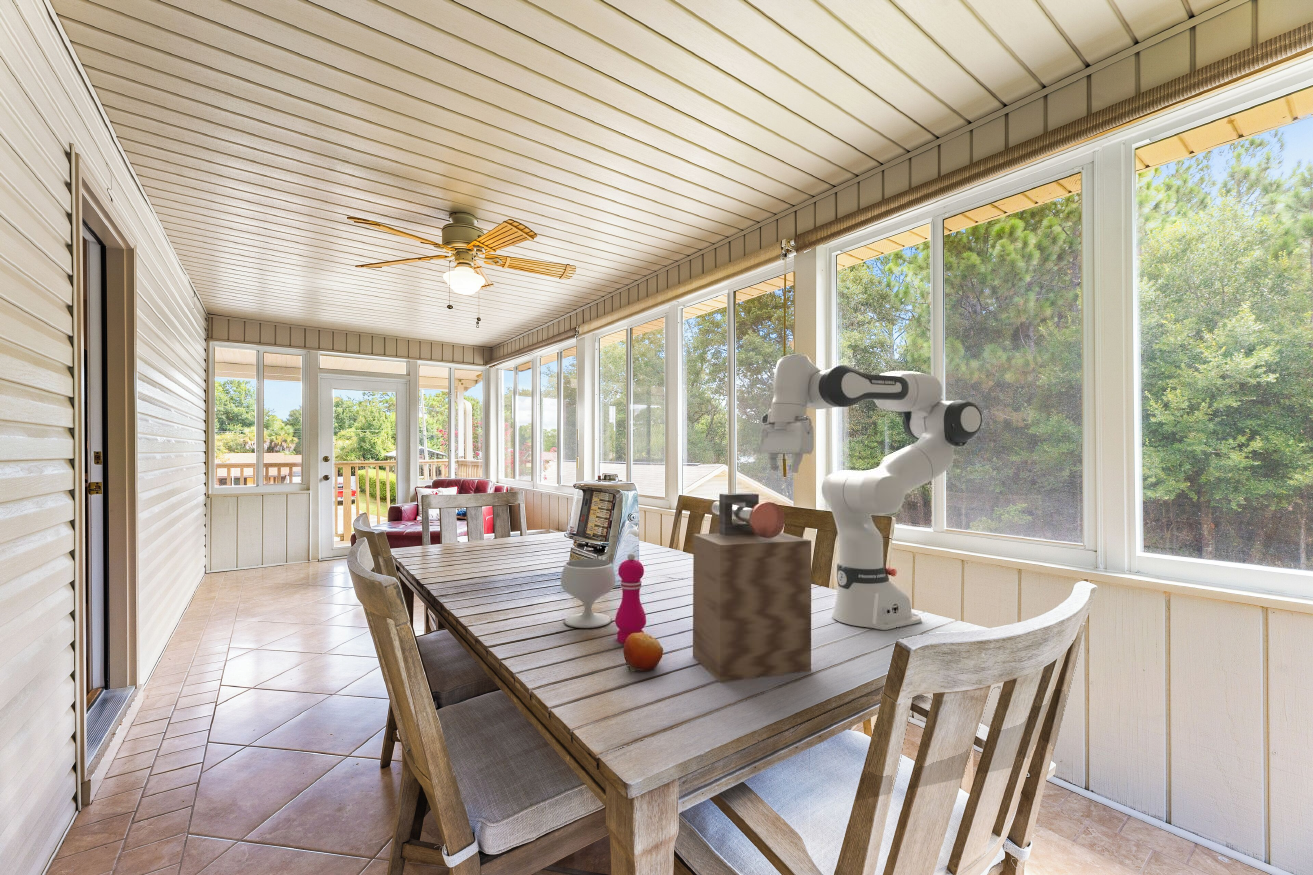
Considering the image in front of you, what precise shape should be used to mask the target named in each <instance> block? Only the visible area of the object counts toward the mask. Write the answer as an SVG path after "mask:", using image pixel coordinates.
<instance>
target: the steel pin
mask: <svg viewBox="0 0 1313 875" xmlns="http://www.w3.org/2000/svg"><path fill="white" fill-rule="evenodd" d="M711 511H712V513H713V514H716V515H719V500H717V501H715V502H713V503H712V505H711ZM732 520H737V521H741V522H748V523H750V527H751V529H752V531H753V532H754V533H755V534H757V535H758V536H761V537H764V538H773V537H775V536H777V535H778V534H779V533H780V532H783V529H784V527H785V522H786V516H785V512H784V510H783V508H782V507H781V506H780V505H779V504H777V503H776V502H771V501H761V502H759V503H758V504H757V505H756V506H755V507H754V508H753V509H751V508H747V507H745V506H742V505H737V504H734V503H732Z"/></svg>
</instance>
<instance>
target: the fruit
mask: <svg viewBox="0 0 1313 875" xmlns="http://www.w3.org/2000/svg"><path fill="white" fill-rule="evenodd" d="M622 652H623V658H624V661H625V664H626V665H625V666H629V669H630V672H629V674H630V675H631V674H632V673H633V672H634V671H645V672H648V671H653V670H655V669H656V668H657V666H658V665H659V663H660V661H661V660H662V658H663V653H664V647H663V646H662V645H661V643H660V641H659V640H658V639H657V638H654V637H653V636H652V635H650V634H648V633H645V632H644V633H643V632H640V633H632V634H630V635H629V636H628V637H627V639H626V641H625V643H624V645H623V649H622Z"/></svg>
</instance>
